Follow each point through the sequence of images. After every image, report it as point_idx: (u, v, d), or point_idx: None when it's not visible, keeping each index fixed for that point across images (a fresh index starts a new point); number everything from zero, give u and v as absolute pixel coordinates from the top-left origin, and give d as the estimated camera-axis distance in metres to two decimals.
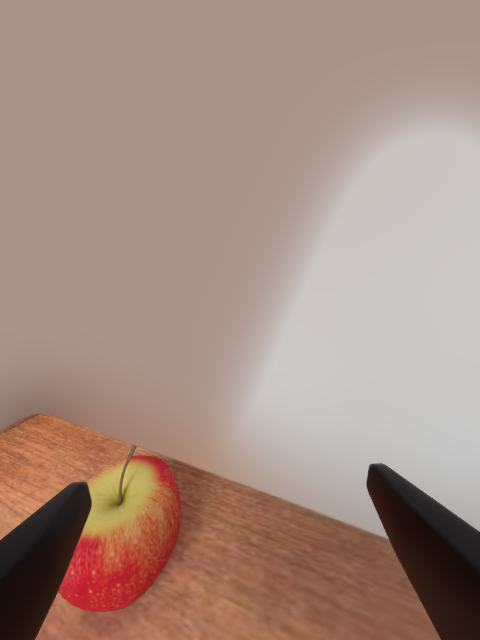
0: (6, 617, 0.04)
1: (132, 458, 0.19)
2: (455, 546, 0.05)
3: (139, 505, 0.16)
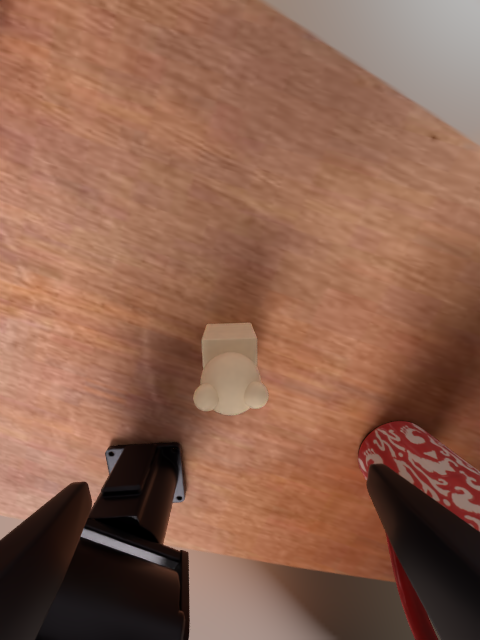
0: (6, 617, 0.04)
1: None
2: (455, 546, 0.05)
3: None
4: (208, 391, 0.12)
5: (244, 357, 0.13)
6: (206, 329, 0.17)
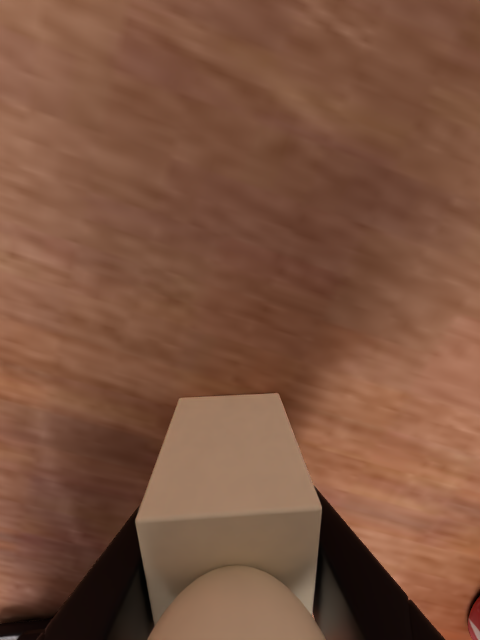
0: (141, 605, 0.05)
1: None
2: (330, 556, 0.05)
3: None
4: None
5: None
6: (171, 430, 0.06)
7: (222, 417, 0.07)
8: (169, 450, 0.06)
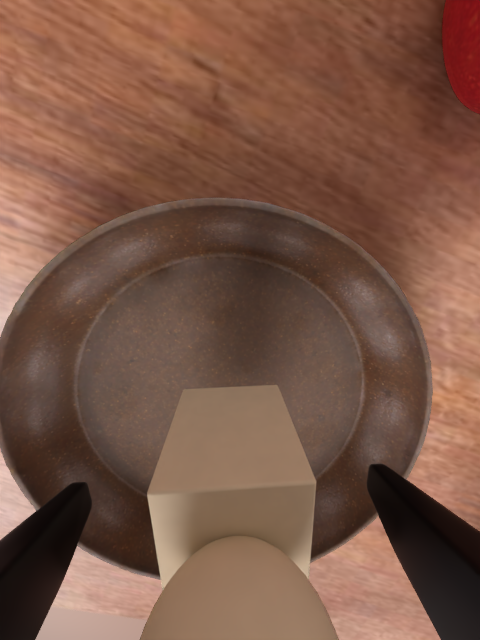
0: (6, 617, 0.04)
1: None
2: (455, 546, 0.05)
3: None
4: None
5: (293, 622, 0.03)
6: (176, 417, 0.07)
7: (224, 406, 0.07)
8: (176, 434, 0.06)
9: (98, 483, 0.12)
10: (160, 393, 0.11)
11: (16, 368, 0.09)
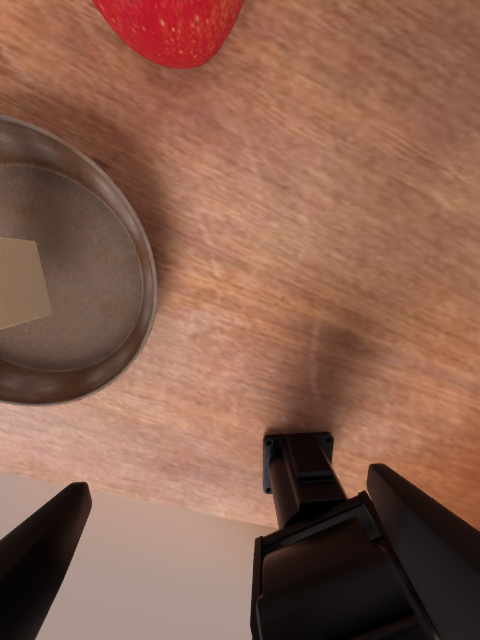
0: (6, 617, 0.04)
1: None
2: (455, 546, 0.05)
3: None
4: None
5: None
6: None
7: None
8: None
9: None
10: None
11: None
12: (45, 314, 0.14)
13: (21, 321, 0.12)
